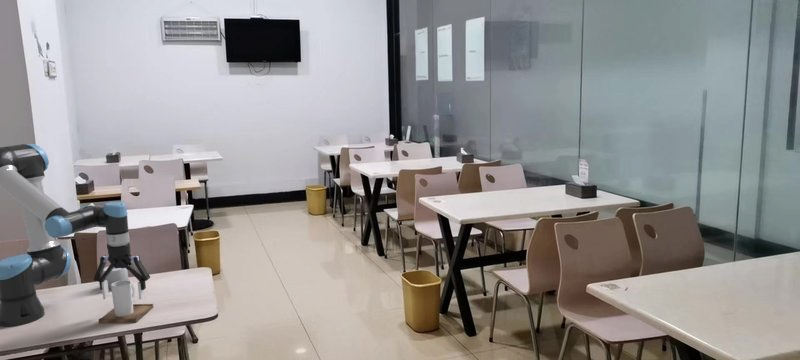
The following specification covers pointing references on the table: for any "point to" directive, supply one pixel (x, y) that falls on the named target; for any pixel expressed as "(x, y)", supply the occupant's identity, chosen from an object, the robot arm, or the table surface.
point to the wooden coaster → (137, 314)
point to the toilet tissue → (116, 275)
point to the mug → (123, 297)
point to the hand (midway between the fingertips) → (124, 298)
